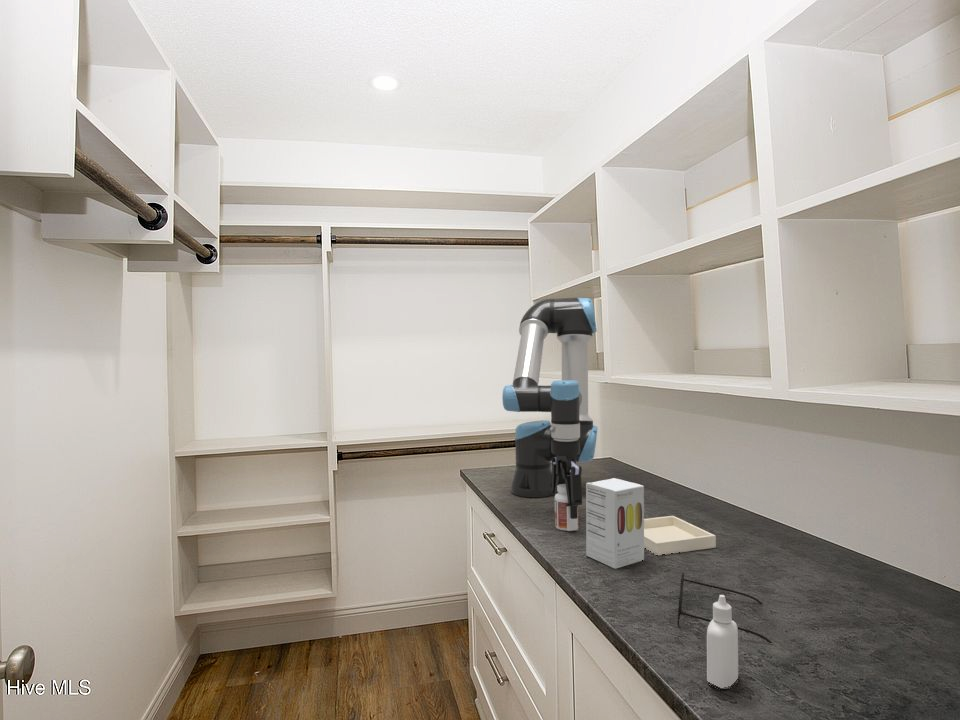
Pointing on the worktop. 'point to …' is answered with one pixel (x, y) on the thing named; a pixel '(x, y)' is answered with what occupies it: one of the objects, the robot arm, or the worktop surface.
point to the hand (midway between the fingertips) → (566, 525)
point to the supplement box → (615, 522)
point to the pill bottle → (561, 507)
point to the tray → (675, 536)
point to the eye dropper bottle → (722, 646)
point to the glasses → (709, 619)
